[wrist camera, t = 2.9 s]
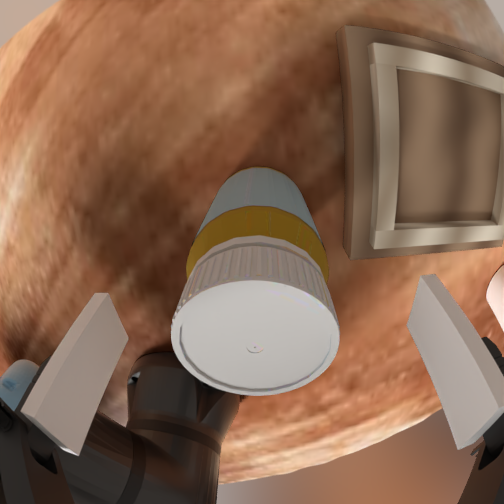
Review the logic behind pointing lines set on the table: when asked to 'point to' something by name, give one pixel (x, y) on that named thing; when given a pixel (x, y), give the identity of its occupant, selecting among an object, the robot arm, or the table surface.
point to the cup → (497, 295)
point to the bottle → (256, 291)
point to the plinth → (419, 145)
